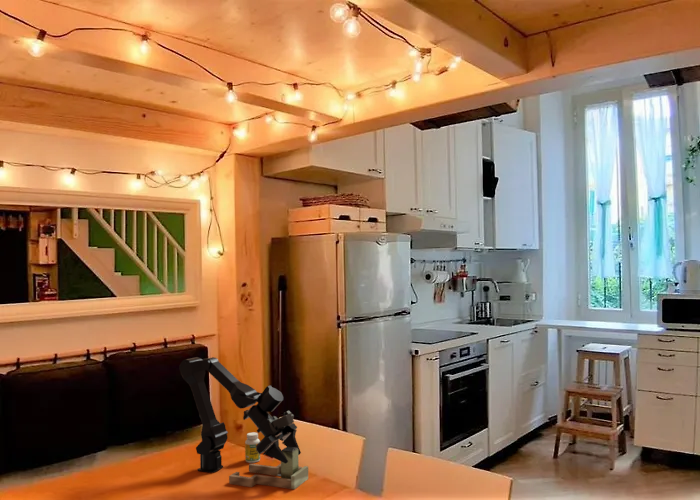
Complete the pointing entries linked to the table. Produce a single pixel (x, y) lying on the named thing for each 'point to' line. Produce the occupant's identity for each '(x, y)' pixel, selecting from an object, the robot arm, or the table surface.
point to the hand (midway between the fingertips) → (293, 458)
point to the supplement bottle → (251, 448)
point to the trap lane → (269, 477)
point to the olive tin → (290, 462)
